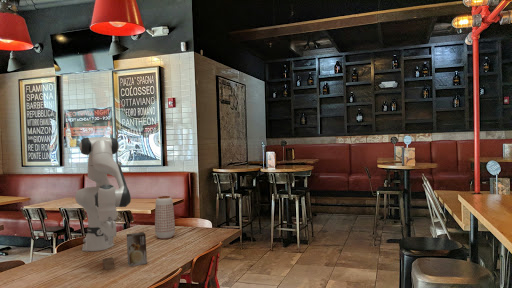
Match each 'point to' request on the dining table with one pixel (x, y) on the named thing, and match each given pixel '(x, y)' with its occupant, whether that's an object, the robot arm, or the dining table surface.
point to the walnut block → (108, 263)
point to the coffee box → (136, 249)
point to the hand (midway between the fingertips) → (108, 242)
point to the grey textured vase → (164, 217)
